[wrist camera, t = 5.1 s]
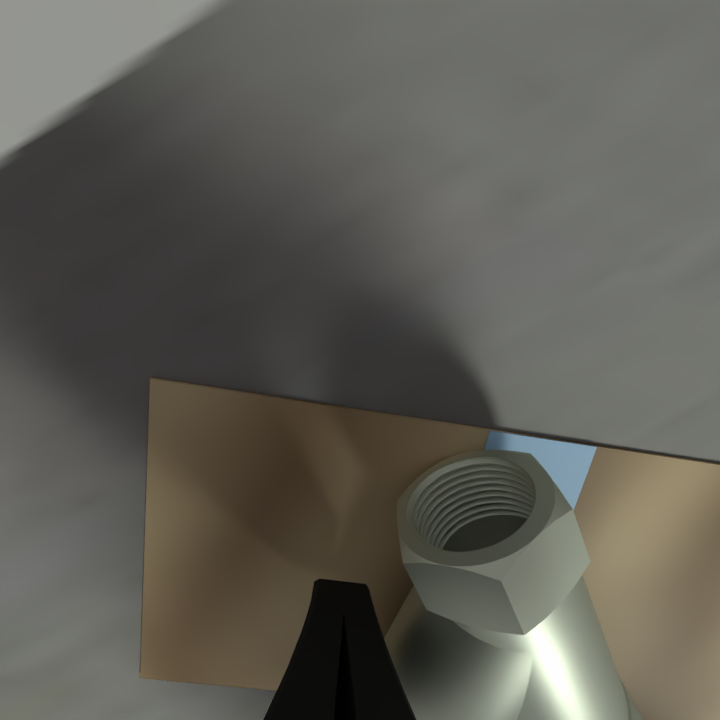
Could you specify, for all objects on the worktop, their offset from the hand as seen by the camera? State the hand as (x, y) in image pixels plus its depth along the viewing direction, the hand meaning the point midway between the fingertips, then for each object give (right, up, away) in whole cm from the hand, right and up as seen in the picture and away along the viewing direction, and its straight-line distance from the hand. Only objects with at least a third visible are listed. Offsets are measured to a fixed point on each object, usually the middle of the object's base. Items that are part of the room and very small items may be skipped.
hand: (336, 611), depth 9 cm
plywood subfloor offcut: (+4, 0, +2) cm, 5 cm away
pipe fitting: (+3, 0, +2) cm, 4 cm away
